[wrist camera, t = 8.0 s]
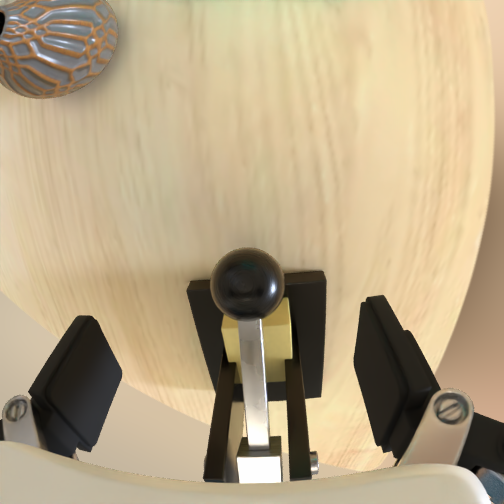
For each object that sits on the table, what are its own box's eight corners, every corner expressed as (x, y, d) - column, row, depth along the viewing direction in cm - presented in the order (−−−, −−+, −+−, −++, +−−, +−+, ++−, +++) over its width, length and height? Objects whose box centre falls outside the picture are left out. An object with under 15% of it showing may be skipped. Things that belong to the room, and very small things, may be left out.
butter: (226, 301, 20) (220, 328, 17) (288, 296, 19) (291, 324, 17) (236, 355, 22) (233, 383, 19) (290, 352, 22) (293, 380, 19)
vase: (82, 118, 16) (-17, 135, 8) (34, 63, 14) (-58, 63, 6) (155, 36, 14) (75, -8, 6) (96, -13, 12) (15, -53, 4)
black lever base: (190, 280, 21) (131, 436, 10) (323, 270, 20) (371, 433, 9) (220, 392, 26) (202, 514, 15) (319, 386, 25) (335, 512, 14)
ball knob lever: (216, 255, 17) (199, 245, 13) (281, 250, 17) (282, 238, 13) (235, 469, 15) (225, 501, 12) (294, 467, 15) (296, 501, 11)
